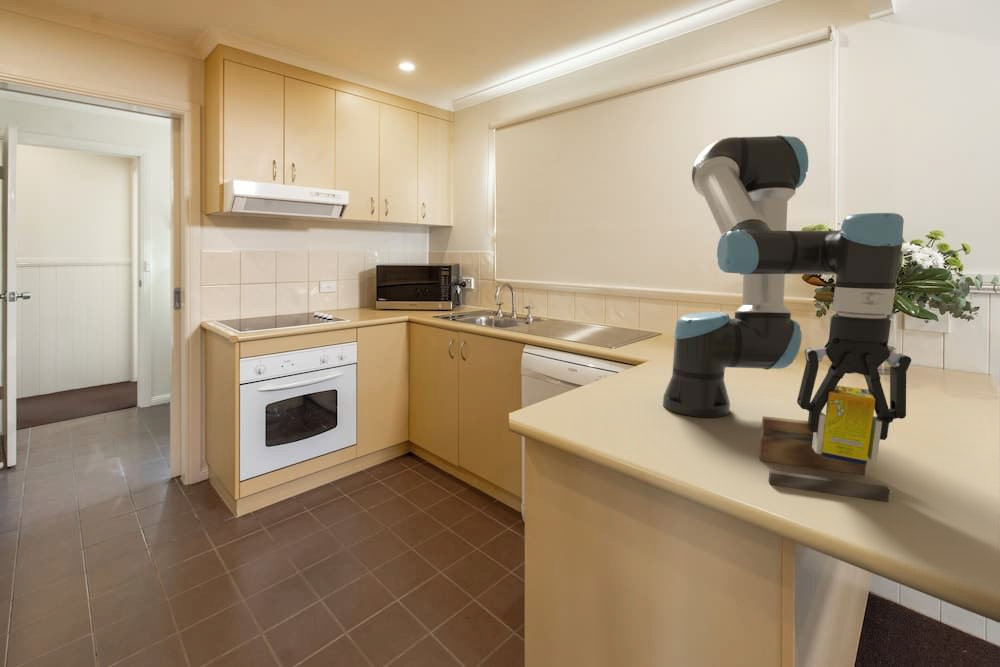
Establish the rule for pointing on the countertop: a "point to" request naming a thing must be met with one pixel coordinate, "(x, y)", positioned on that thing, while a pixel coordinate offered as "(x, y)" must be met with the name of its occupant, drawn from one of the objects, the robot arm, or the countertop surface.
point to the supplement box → (848, 424)
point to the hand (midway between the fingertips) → (843, 453)
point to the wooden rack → (809, 461)
